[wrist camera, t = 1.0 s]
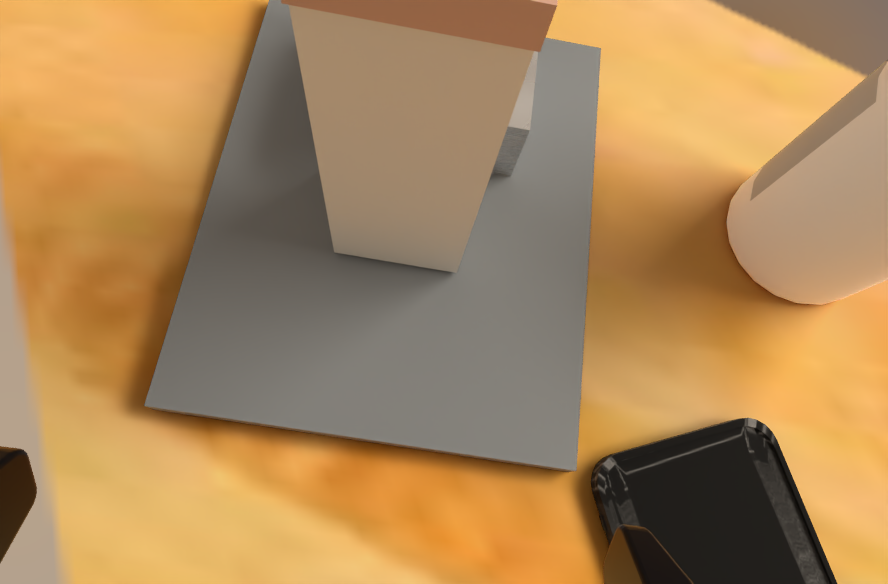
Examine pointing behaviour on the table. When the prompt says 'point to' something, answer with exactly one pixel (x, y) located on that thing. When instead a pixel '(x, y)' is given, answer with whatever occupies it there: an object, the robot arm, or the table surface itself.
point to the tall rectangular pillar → (411, 115)
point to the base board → (389, 288)
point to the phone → (715, 505)
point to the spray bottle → (821, 204)
